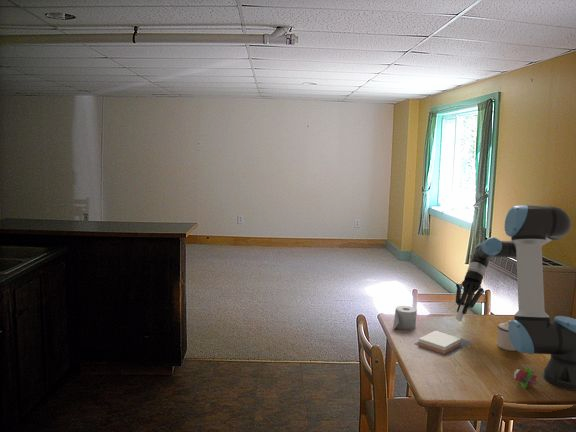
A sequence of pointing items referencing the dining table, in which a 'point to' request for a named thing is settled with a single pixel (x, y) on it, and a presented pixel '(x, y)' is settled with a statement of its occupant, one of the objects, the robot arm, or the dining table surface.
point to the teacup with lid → (504, 337)
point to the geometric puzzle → (525, 377)
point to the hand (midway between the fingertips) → (458, 319)
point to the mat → (463, 344)
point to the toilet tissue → (405, 317)
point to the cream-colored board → (439, 342)
